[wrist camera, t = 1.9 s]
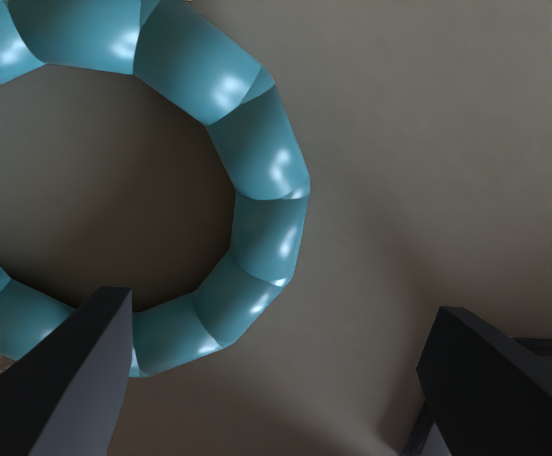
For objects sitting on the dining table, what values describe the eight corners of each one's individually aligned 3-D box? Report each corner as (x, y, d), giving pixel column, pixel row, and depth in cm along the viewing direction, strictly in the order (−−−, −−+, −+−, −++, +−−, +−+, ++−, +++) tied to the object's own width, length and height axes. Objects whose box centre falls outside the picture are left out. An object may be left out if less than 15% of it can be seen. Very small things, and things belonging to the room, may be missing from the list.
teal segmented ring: (271, 351, 19) (277, 394, 17) (-66, 337, 17) (-110, 385, 15) (333, 13, 13) (354, 11, 11) (-177, -74, 11) (-279, -98, 9)
